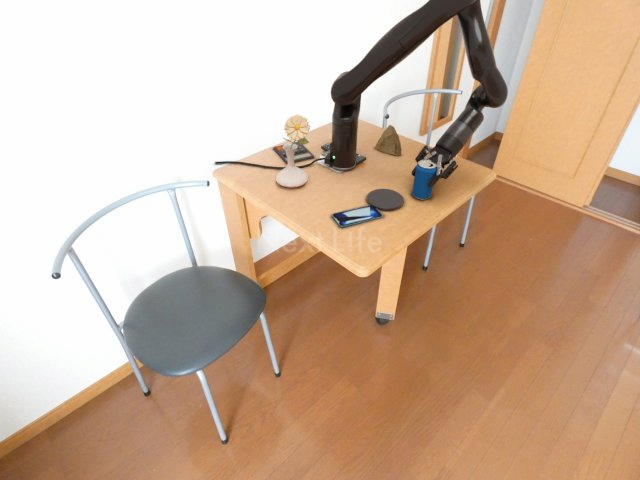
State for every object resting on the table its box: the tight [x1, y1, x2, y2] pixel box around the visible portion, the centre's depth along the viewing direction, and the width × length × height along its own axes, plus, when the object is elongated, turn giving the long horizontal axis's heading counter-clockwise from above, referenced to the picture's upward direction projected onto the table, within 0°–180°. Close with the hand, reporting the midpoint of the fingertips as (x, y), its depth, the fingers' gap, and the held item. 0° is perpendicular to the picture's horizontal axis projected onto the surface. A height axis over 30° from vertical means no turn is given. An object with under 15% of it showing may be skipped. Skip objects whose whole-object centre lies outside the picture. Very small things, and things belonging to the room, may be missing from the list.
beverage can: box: [411, 159, 437, 201], centre depth 122 cm, size 6×6×12 cm
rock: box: [374, 124, 402, 157], centre depth 149 cm, size 11×9×10 cm
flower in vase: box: [275, 113, 311, 189], centre depth 124 cm, size 13×11×25 cm
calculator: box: [273, 141, 315, 165], centre depth 150 cm, size 12×1×15 cm
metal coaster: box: [366, 188, 404, 212], centre depth 123 cm, size 12×12×1 cm
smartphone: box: [331, 204, 384, 229], centre depth 116 cm, size 7×1×15 cm
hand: (420, 180), depth 121 cm, fingers open, 7 cm apart
